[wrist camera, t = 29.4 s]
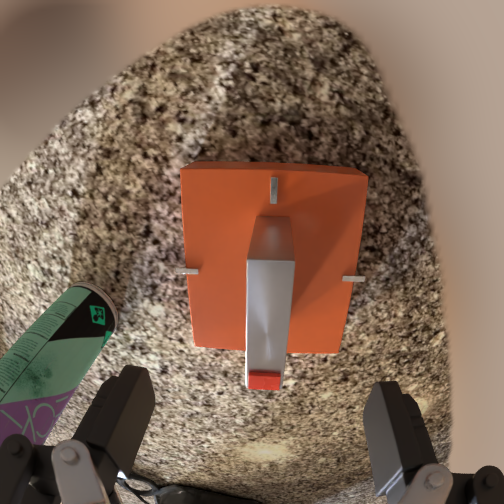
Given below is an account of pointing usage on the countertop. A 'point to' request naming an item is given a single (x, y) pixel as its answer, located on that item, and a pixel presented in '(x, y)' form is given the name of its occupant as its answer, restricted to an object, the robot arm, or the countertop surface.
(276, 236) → the gray slab
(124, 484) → the coffee maker
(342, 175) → the orange flat block
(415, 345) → the countertop surface
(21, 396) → the spray can
